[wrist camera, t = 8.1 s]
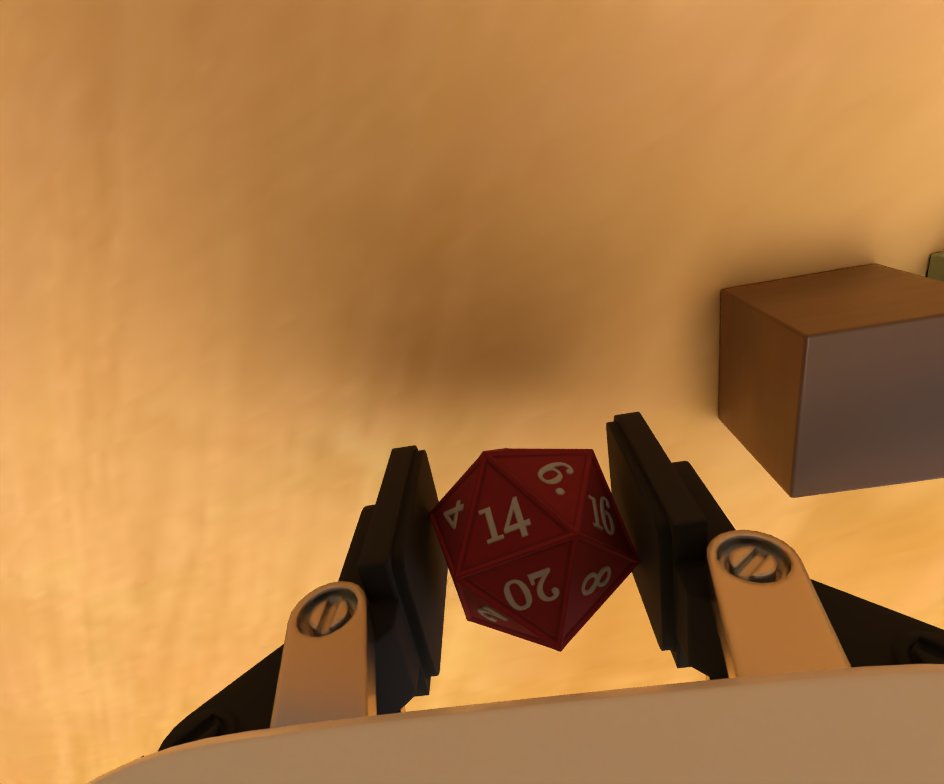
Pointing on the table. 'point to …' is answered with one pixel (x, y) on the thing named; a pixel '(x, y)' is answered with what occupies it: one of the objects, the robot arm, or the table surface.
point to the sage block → (936, 267)
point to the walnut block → (836, 377)
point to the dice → (534, 542)
